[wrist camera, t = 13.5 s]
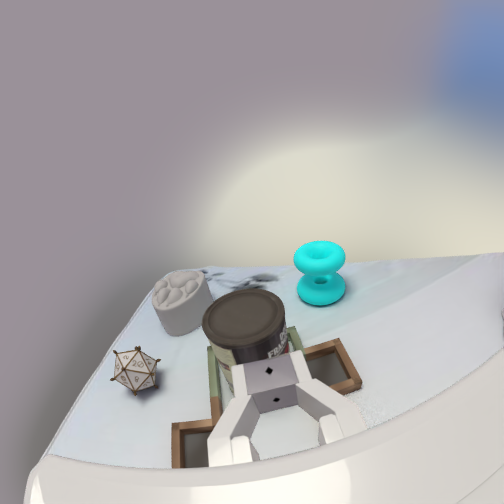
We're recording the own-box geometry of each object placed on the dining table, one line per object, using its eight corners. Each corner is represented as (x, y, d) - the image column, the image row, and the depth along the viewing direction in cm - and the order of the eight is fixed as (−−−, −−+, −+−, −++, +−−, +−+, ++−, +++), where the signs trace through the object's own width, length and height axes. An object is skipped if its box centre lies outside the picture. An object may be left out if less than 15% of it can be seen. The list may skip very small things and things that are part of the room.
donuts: (289, 266, 47) (295, 239, 56) (295, 308, 52) (300, 278, 60) (346, 264, 44) (343, 237, 53) (345, 307, 49) (344, 277, 57)
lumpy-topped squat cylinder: (218, 296, 60) (207, 264, 56) (196, 339, 49) (181, 305, 45) (178, 295, 63) (166, 265, 59) (153, 333, 52) (137, 302, 48)
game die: (160, 387, 44) (170, 343, 43) (151, 414, 36) (160, 367, 35) (116, 371, 43) (122, 326, 42) (101, 395, 34) (104, 347, 34)
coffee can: (300, 357, 41) (293, 289, 35) (283, 410, 33) (269, 351, 26) (242, 349, 45) (222, 285, 39) (218, 396, 37) (186, 336, 30)
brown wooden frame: (327, 324, 46) (327, 316, 45) (413, 500, 16) (418, 497, 15) (179, 359, 45) (175, 352, 44) (184, 551, 14) (177, 551, 13)
